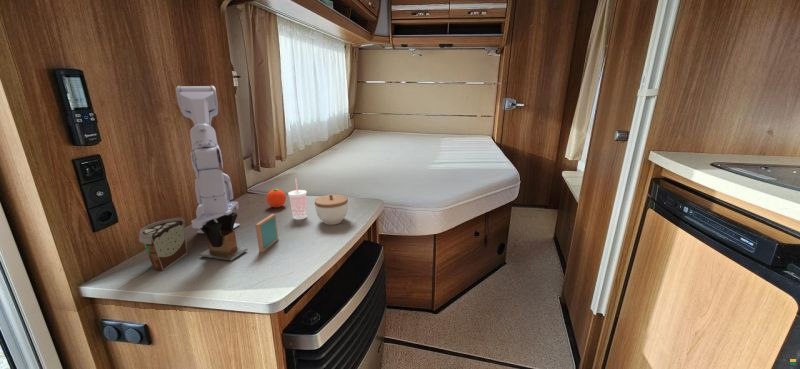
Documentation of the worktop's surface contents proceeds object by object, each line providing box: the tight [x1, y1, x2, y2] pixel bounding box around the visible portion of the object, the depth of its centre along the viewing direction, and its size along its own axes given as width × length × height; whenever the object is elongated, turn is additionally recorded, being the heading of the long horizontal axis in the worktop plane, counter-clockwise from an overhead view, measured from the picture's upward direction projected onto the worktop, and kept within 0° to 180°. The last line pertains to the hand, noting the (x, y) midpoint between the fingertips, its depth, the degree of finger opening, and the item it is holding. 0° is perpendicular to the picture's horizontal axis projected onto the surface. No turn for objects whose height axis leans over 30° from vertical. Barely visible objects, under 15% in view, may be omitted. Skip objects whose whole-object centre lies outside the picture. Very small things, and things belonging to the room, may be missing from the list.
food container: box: [138, 217, 189, 272], centre depth 84 cm, size 12×6×10 cm, turn 178°
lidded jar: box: [314, 193, 349, 225], centre depth 109 cm, size 11×11×9 cm
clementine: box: [266, 188, 287, 209], centre depth 125 cm, size 8×7×7 cm
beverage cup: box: [287, 177, 308, 220], centre depth 113 cm, size 6×6×14 cm
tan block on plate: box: [199, 230, 248, 261], centre depth 88 cm, size 10×6×6 cm, turn 74°
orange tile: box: [254, 213, 279, 253], centre depth 93 cm, size 1×8×8 cm, turn 169°
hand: (222, 243), depth 88 cm, fingers closed on tan block on plate, 4 cm apart
